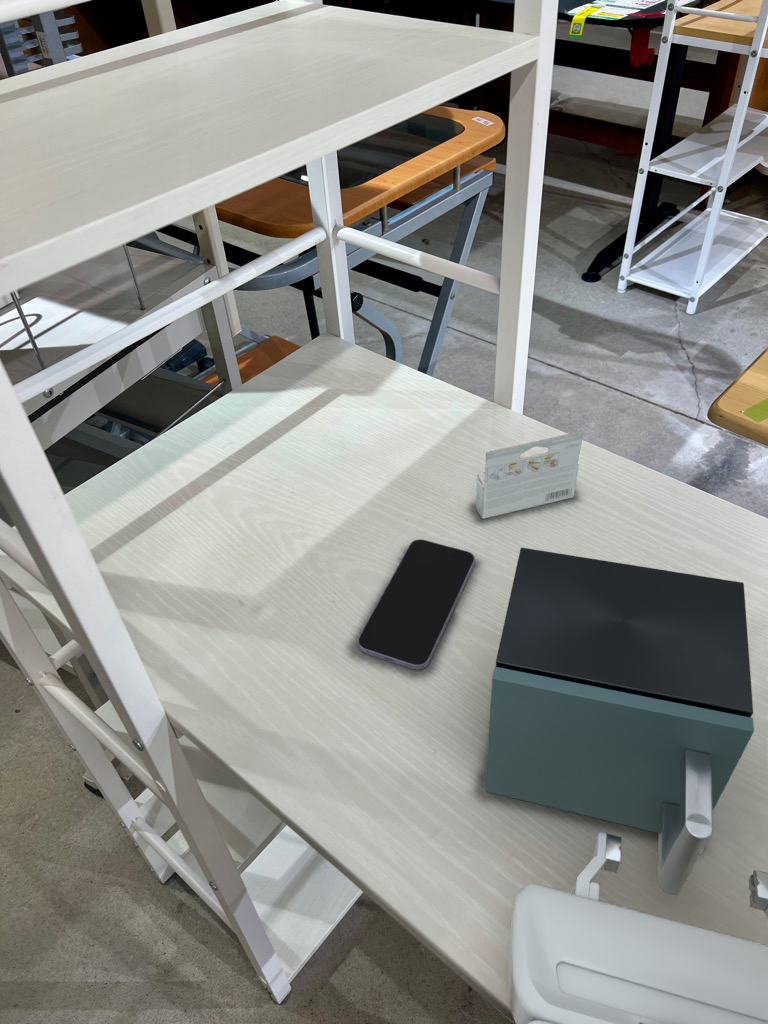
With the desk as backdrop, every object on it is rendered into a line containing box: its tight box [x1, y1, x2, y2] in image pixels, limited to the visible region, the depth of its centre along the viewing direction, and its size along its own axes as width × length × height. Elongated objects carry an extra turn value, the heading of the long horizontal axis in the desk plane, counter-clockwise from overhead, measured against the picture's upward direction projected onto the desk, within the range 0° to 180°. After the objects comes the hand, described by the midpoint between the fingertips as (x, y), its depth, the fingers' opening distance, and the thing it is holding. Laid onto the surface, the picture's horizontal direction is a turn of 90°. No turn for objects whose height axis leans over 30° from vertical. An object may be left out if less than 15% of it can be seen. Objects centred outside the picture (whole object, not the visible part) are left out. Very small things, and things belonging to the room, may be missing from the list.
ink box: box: [475, 430, 585, 519], centre depth 81 cm, size 2×11×10 cm, turn 105°
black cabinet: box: [495, 547, 754, 718], centre depth 57 cm, size 11×16×16 cm
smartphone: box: [357, 539, 476, 671], centre depth 74 cm, size 7×1×15 cm
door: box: [484, 666, 755, 897], centre depth 51 cm, size 7×16×16 cm, turn 74°
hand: (684, 856), depth 48 cm, fingers open, 8 cm apart
